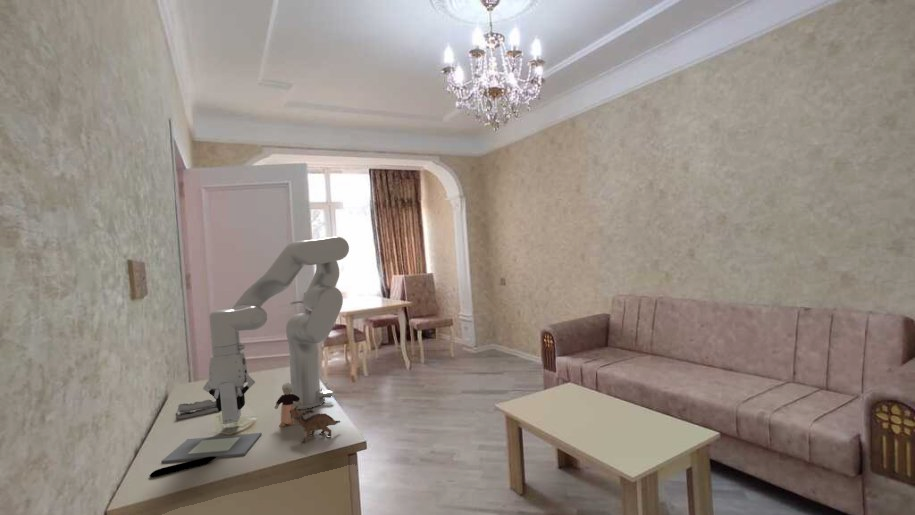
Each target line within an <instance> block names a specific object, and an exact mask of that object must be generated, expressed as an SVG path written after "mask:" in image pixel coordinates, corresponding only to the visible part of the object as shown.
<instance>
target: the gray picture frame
mask: <svg viewBox="0 0 915 515" xmlns="http://www.w3.org/2000/svg"><path fill="white" fill-rule="evenodd" d="M262 434H263V433H262V432H254V433H253V432H252V433H244V434H230V435H221V436H220V435H219V436H209V437H208V436H205V437H198V438H197V437H196V438H188V439H186V440H185V441H184V442H182V443H181V444H180V445H179V446H178V447H176V448H175V449H173V451H171V452H170V453H169V454H168V455H167V456H166V457H165V458H163V459H162V460H161V464H168V463H177V462H178V463H179V462H180V463H182V462H189V461H193V460H197V459H202V458H206V457H217V458H216V459H221V458H230V457H231V458H233V457H243V456H246V454H248V452H249V451H250V450H251V448H252V447H254V445H255V444H256V443H257V441H258V440H259V439H260V438H261V436H262Z"/></svg>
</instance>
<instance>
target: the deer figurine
mask: <svg viewBox="0 0 915 515" xmlns="http://www.w3.org/2000/svg"><path fill="white" fill-rule="evenodd" d="M297 407H298V406H296V407H295V408H294V409H291V410H290V414H291V416H290V417H291V419H294V422H296V423H297V424H298V425H299V426H300V427H302V428H303V431H304V432H305V433H306V436H305V437H304V438H303V440H302V441H300V442H301V443H304V444H305V443H306V442H307V440H308V439H309V440H310V439H311V438H312V436H314V434H315V432H316V431H320V430H321V433H323V434H325V433H324V432H326V433H327V435H328V436H331V437H332V430H331V429H330V428H329V426H335V425H338V424H339V423H341V421H340V420H335V419H334V418H333V417H331V416H330V415H328V414H327V413H317V414H314V415H313V413H314V412H315V411H314V410H313V408H309V409H303V410H302V411H301V410H296V408H297ZM309 414H312V416H309V417H307V418H306V419H305V415H309ZM311 435H312V436H311Z"/></svg>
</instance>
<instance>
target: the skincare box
mask: <svg viewBox="0 0 915 515" xmlns="http://www.w3.org/2000/svg"><path fill="white" fill-rule="evenodd" d="M219 389H220V399H221V409H222V411H221V416H222V424H223V425H226V424H227V425H228V424H234V423H237V422H239V421H240V418H241V417H240V416H242V410H241V409H242V408H241V409H240V410H238V407H237V397H238V393H237V390H236V388H235V384H234V382H232V383H221V384H219Z"/></svg>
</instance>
